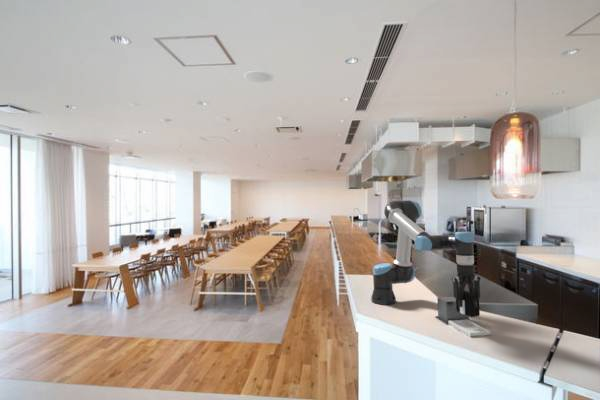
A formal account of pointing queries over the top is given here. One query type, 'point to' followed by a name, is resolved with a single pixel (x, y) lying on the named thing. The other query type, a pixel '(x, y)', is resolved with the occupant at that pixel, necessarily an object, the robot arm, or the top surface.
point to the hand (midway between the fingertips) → (467, 313)
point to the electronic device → (470, 304)
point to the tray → (469, 328)
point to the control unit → (449, 310)
